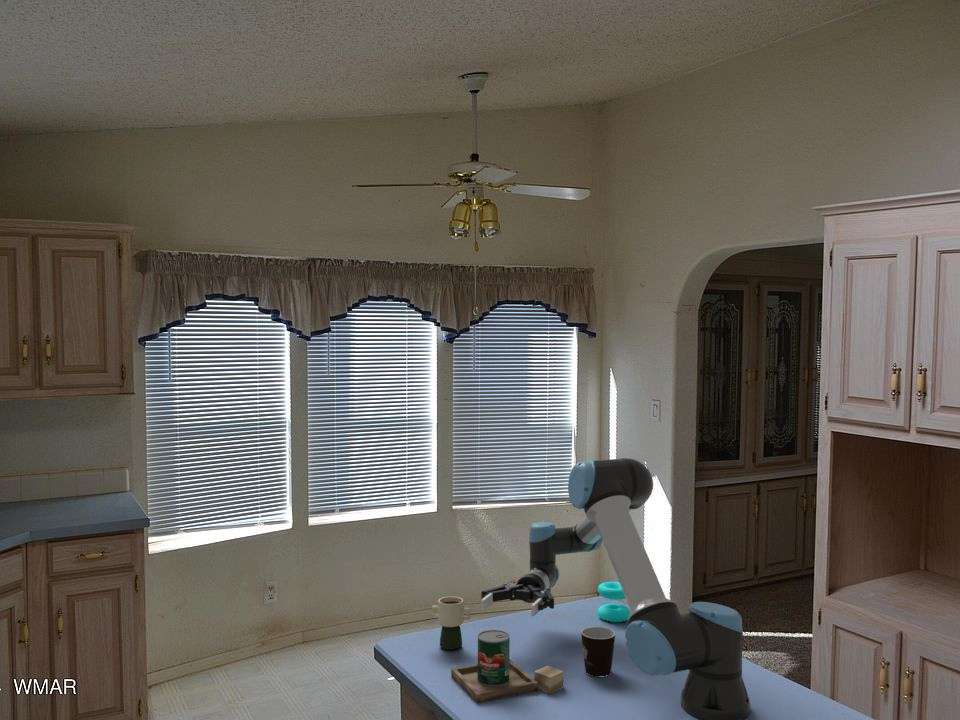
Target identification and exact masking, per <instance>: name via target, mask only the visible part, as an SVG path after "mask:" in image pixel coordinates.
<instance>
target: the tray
mask: <svg viewBox="0 0 960 720" xmlns="http://www.w3.org/2000/svg"><path fill="white" fill-rule="evenodd" d="M450 669H451V673H450V675H451V678H452V679H453V680H454V681H455V682H456V683H457V684H458V685H459V686H460V687H461V689H463V690H464V692H466V694H467V695H468V696H469V697H470V698H471V699H473V701H474V702H475V703H476V704H478V703H479V704H480V703H484V702H488V701H493V700H498V699H503V698H504V699H505V698H508V697H513V696H520V695H524V694H530V693H534V692H538V691H539V689H538V682H537V681H535V680H534V677H532V676H530V675H529V674H528V672H526V671H524V669H522V668H521V667H520V666H519V665H517V663H515V662H514V661H513V660H511V659H510V658H509V682H508V683H507V684H506V685H503V686H499V687H488V686H484V685H481V684H480V683H478V681H477V678H478V674H477V672H478V663H477V664H475V663H474V664H470V665H465V666H459V667H453V668H450Z"/></svg>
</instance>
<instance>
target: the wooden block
mask: <svg viewBox="0 0 960 720" xmlns="http://www.w3.org/2000/svg"><path fill="white" fill-rule="evenodd" d="M533 675H534V677H533V679H534V680H535V681H537V682H538V690H540V691H542V692H544V693H547V692H548V694H550V693H551V694H553V693H555V692H557V691H558V689H559V690H561V689H563V688H564V670H560V669H558V668H555V667H554V666H553V667H552V666H550V665H545V666H543V667H541V668H538V669H537V670H534V673H533ZM562 687H563V688H562ZM560 688H561V689H560ZM556 690H557V691H556ZM554 691H555V692H554Z"/></svg>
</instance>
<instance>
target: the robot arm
mask: <svg viewBox="0 0 960 720" xmlns="http://www.w3.org/2000/svg"><path fill="white" fill-rule="evenodd" d="M567 490H568V491H567V493H568V498H569V499H568V500H569V501H570V503H571V505H572V506H573V507H574V508H575V509H578V510H582V509H583V511H584V514H585V516H583V517H582V519H580V521H579V522H577V524H575V525H574V526H568V527H560V528H556V526H555V523H552V522H549V521H537V522H534V523H532V524H531V525H530V527H529V535H528V542H529V543H528V544H529V571H528V572H526V573H525V574H524V575H523V576H521V577H520V578H519V579H518V581H517V582H516V584H515V585H513V586H509V587H508V584H507V583H506V584H503V583H502V584H501V585H500V586H495V587H492V588H488V589H485V590H481V591H480V592H481V593H480V596H481V598H480V599H481V600H480V608H481V609H480V610H481V611H483V612H484V611H486V610H487V609H489V607H490V606H492V605H493V604H494V603H495V602H500V601H507V600H509V601H517V600H518V601H523V602H524V603H528V604H531V605H530V607H531V608H530V611H531V613H530V616H531V617H535V616H536V615H537V614H538V613H539V612H540V611H543V610H545V609H547V608H549V609H550V610H551V609H555V598H554V596H553V594H552V593H551V588H553V587H555V586H556V583H557V582H558V580H559V577H560V570H559V568H558V566H557V565H556V561H557V560H556V557H557V556H559V555H565V554H568V555H569V554H578V553H589V552H592V551H597V550H599V549H600V548H601V546H602V544H603V545H604V547H605V549H606V552H607V555H608V557H609V560H610V563H611V565H612V567H613V571H614V572H615V575H616V577H617V580H618V582H619V583H620V585H621V588H622V590H623V593H624V595H625V600H626V603H627V605H628V609H629V610H630V611H631V613H630V615H629V618H628V620H627V622H628V625H627V627H626V629H625V633H624V639H625V640H626V641H625V647H626V650H627V653H628V655H629V657H630V659H631V661H632V662H633V664H634V665H635V667H637V668H638V669H639V671H641V672H644V673H645V674H646V675H648V676H660V675H662V676H665V675H667V676H668V675H671V674H673V673H678V672H684V671H687V670H688V673H687V675H686V676H687V677H686V680H685V682H684V683H685V684H684V686H683V688H682V690H681V693H680V704H681V707H682V709H683V710H684V711H685V712H687V713H688V715H689V714H690V715H691V716H692V717H693V716H694V717H695V718H698V719H700V720H745V719H746V718H747V717H749V715H750V713H751V701H750V698H749V695H748V692H747V691H748V690H747V687H746V685H745V682H744V679H743V636H744V635H743V633H744V630H743V620H742V619H743V618H742V615H741V613H739V612H738V611H737V610H736V609H734V608H731V607H730V606H726V605H723V604H719V603H714V602H707V601H695V602H691V603H690V604H689V608H688V613H680V610H679V608H678V605H677V604H676V603H677V602H675V601H673V600H671V599H669V598H667V597H666V595H665V593H664V590H663V588H662V586H661V583H660V581H659V579H658V576H657V573H656V572H655V569H654V567H653V564H652V562H651V561H650V558H649V555H648V553H647V551H646V549H645V546H644V543H643V541H642V540H641V539H642V538H641V537H640V535H639V531H638V530H637V528H636V525H635V522H634V521H633V519H632V516H631V514H630V512H631V511H632V510H638V509H639V508H641V507H642V506H643V505H645V503H646V502H647V501H648V500H649V498H650V497H651V495H652V493H653V490H654V478H653V477H652V473H651V472H650V470H649V468H647V466H646V465H644V463H643V462H641V461H639V460H636V459H634V458H628V457H624V458H613V459H600V460H599V459H598V460H593V459H589V460H587V461H586V460H585V461H584V460H583V461H579V462H577V463H576V464H574V465H573V467H572V468H571V470H570V473H569V476H568V484H567ZM602 542H603V543H602Z"/></svg>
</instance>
